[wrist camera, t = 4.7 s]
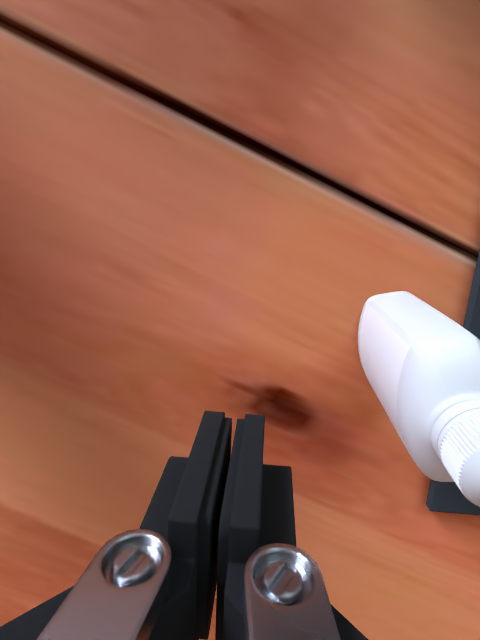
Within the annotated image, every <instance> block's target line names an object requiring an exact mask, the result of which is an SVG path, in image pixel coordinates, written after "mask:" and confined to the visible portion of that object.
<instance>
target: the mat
mask: <svg viewBox="0 0 480 640" xmlns="http://www.w3.org/2000/svg"><path fill="white" fill-rule="evenodd" d="M463 328H465V329H466V330H467V331H469V332H470V333H472V334H473V335H474V336H476V337H477V338H478V339H479V340H480V250H479V255H478V259H477V264H476V269H475V274H474V278H473V283H472V288H471V293H470V297H469V302H468V307H467V312H466V316H465V321H464V326H463ZM426 505H427V507H428V508H429V510H430V511H436V512H447V513H459V514H470V515H480V507H479V506H477V505H475V504H474V503H471V501H469V500H468V499H467V498H466V497H465V496H464V495H463V494H462V492H461V491H460V489H459V488H458V486H457V485H456V483H455V482H440V481H434V480H432V479H431V483H430V488H429V493H428V497H427V502H426Z"/></svg>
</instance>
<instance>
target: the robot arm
mask: <svg viewBox="0 0 480 640" xmlns="http://www.w3.org/2000/svg"><path fill="white" fill-rule="evenodd" d="M264 424H265V416H264V415H251V414H246V415H245V419H237V425H236V430H235V436H234V442H233V447H232V453H231V431H232V418H225V412H213V411H205V412H204V415H203V418H202V421H201V424H200V427H199V430H198V432H197V435H196V438H195V441H194V444H193V447H192V450H191V453H190V456H189V458H185V457H174V456H171V457H170V458H169V460H168V462H167V464H166V467H165V469H164V471H163V474H162V476H161V479H160V481H159V483H158V486H157V488H156V490H155V493H154V495H153V498H152V500H151V502H150V505H149V507H148V509H147V512H146V514H145V517H144V519H143V521H142V524H141V526H140V528H139V529H136V530H130V531H126V532H123V533H121V534H118V535H116V536H115V537H113V538H112V539H110V540H109V541H107V542H106V543H105V544H104V545H103V547H102V548H101V549H100V550H99V551H98V552H97V554H96V555H95V557H94V558H93V560H92V561H91V562H90V564H89V565H88V567H87V568H86V570H85V571H84V572H83V574H82V575H81V577H80V578H79V580H78V581H77V582H76V584H75V585H74V586H72V587H71V588H69V589H67V590H65V591H64V592H62V593H60V594H58V595H56V596H55V597H53V598H51V599H49V600H47V601H46V602H44V603H42V604H40V605H39V606H37V607H35V608H33V609H31V610H30V611H28V612H26V613H24V614H23V615H21V616H19V617H17V618H15V619H14V620H12V621H10V622H8V623H7V624H5V625H3V626H1V627H0V640H199V639H205V640H208V636H209V630H210V624H211V617H212V611H213V604H214V598H215V591H216V585H217V604H216V640H368V639H367V638H366V637H365V636H364V635H363V634H362V633H361V632H360V631H358V630H357V629H356V628H355V627H354V626H353V625H352V624H351V623H350V622H349V621H348V620H347V619H346V618H345V617H344V616H343V615H342V614H340V613H339V612H338V611H337V610H336V609H335V608H334V607H333V606H332V605H331V604H330V601H329V598H328V595H327V591H326V588H325V584H324V581H323V577H322V574H321V572H320V570H319V568H318V565H317V564H316V562H315V561H314V560H313V559H312V558H311V557H310V555H308V554H307V553H305V552H304V551H303V550H301V549H300V548H297V547H296V534H295V518H294V503H293V487H292V471H291V467H288V466H277V465H265V464H263V445H264ZM230 458H231V459H230Z"/></svg>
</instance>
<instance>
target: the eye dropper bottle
mask: <svg viewBox="0 0 480 640" xmlns="http://www.w3.org/2000/svg"><path fill="white" fill-rule="evenodd" d="M358 349H359V355H360V360H361V364H362V367H363V370H364V372H365V375H366V377H367V379H368V381H369V383H370V385H371V387H372V388H373V390H374V392H375V394H376V396H377V397H378V399H379V401H380V403H381V405H382V406H383V408H384V410H385V412H386V414H387V415H388V417H389V419H390V421H391V423H392V424H393V426H394V428H395V430H396V432H397V433H398V435H399V437H400V439H401V440H402V442H403V444H404V446H405V447H406V449H407V451H408V452H409V454H410V456H411V458H412V459H413V461H414V462H415V464H416V465H417V466H418V468H419V469H420V470H421V471H422V473H423V474H424V475H426V476H427V477H429V478H430V479H432V480H434V481H440V482H455V483H456V485H457V486H458V488H459V489H460V491H461V492H462V494H463V495H464V496H465V497H466V498H467V499H468V500H469V501H471V503H474V504H475V505H477V506H479V507H480V340H479V339H478V338H477V337H476V336H474V335H473V334H472V333H470V332H469V331H467V330H466V329H465V328H463V327H462V326H460V325H459V324H458V323H456V322H454V321H453V320H451V319H450V318H448V317H447V316H445V315H444V314H442V313H441V312H439V311H438V310H436V309H434V308H433V307H431V306H430V305H428V304H427V303H425V302H423V301H422V300H420V299H419V298H417V297H416V296H414V295H412V294H411V293H409V292H405V291H398V292H391V293H385V294H379V295H375V296H372V297H370V298H369V299H368V300H367V301H366V303H365V305H364V307H363V310H362V314H361V318H360V322H359V329H358Z"/></svg>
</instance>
